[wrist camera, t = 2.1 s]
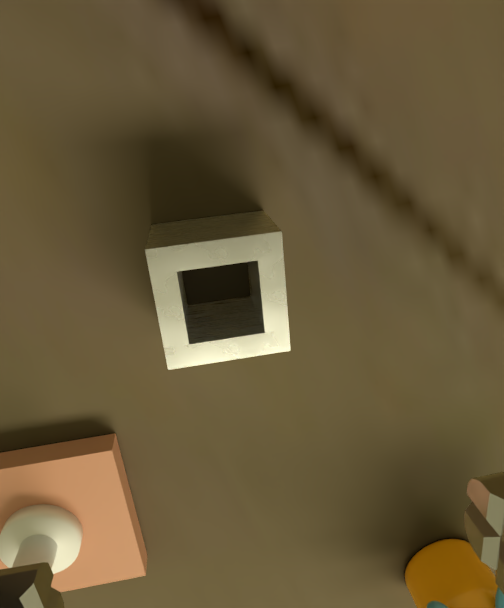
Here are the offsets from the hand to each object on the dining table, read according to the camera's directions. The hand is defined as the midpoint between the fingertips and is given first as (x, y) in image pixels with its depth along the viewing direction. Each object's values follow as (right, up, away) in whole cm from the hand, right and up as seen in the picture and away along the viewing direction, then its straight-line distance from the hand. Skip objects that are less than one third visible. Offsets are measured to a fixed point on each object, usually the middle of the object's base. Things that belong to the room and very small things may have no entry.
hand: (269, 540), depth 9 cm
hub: (-2, +6, +15) cm, 17 cm away
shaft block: (-13, -8, +20) cm, 25 cm away
